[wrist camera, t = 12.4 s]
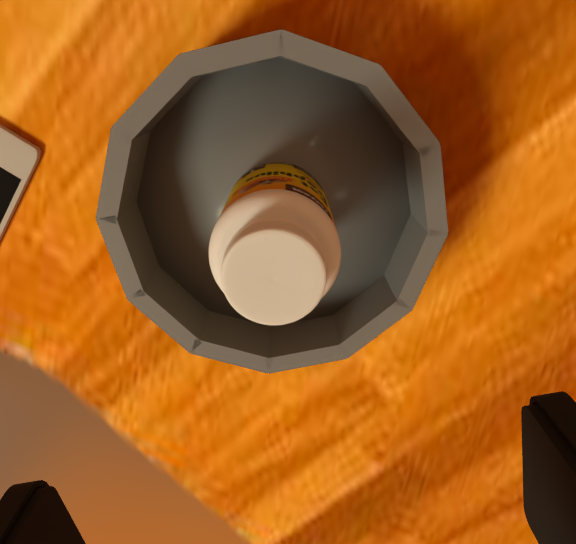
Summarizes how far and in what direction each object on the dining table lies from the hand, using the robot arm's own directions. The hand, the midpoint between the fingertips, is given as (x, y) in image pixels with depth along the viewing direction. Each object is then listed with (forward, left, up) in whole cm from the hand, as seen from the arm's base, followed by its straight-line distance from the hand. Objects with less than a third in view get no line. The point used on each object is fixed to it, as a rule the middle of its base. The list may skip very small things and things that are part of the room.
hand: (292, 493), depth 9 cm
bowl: (+1, -1, -20) cm, 20 cm away
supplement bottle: (0, -1, -20) cm, 20 cm away
